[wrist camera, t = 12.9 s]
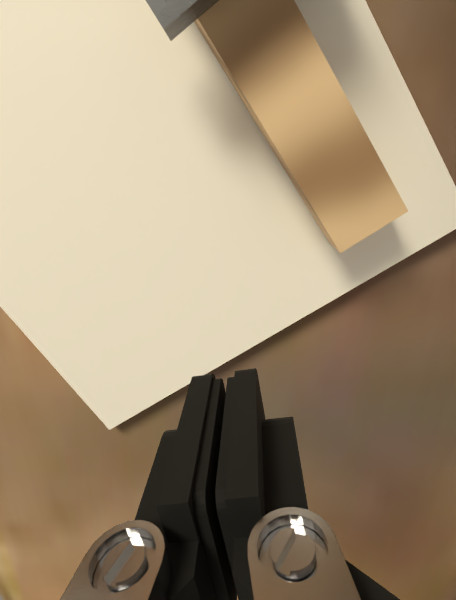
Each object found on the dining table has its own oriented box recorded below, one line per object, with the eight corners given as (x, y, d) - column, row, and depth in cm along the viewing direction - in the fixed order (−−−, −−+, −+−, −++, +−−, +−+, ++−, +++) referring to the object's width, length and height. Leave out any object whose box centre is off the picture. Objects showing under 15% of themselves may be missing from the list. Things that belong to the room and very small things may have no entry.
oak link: (45, -188, 18) (-33, -325, 13) (135, -292, 17) (86, -487, 12) (318, 250, 24) (335, 271, 19) (400, 198, 22) (442, 205, 18)
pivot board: (183, -351, 17) (179, -382, 16) (463, 217, 24) (471, 219, 23) (-192, 72, 23) (-211, 68, 22) (113, 421, 30) (109, 429, 29)
